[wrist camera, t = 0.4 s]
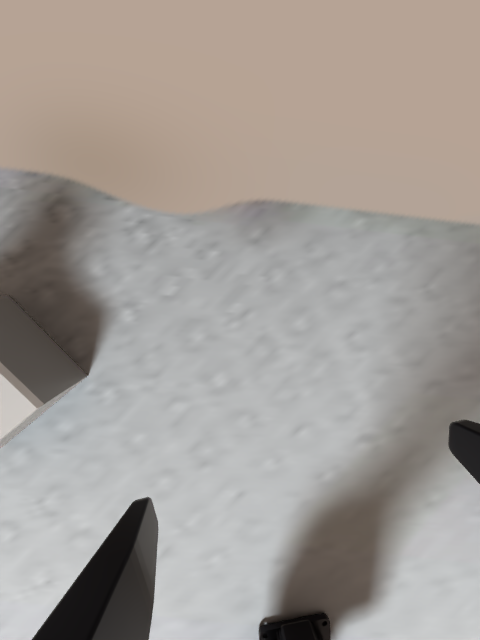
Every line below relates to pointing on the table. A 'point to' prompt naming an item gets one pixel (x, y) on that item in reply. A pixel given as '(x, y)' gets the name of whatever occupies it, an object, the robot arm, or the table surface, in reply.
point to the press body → (29, 370)
